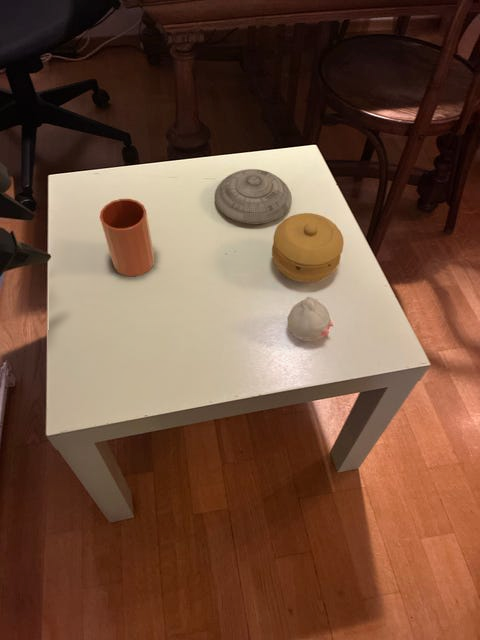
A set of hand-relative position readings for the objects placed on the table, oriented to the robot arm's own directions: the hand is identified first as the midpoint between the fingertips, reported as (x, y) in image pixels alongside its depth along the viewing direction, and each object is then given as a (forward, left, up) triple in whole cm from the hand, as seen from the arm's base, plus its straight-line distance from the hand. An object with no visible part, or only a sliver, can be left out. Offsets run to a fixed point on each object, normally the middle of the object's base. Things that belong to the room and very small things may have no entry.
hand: (41, 237), depth 70 cm
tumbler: (+11, +7, -13) cm, 19 cm away
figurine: (+40, -9, -14) cm, 43 cm away
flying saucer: (+33, +22, -14) cm, 42 cm away
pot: (+41, +5, -14) cm, 43 cm away
